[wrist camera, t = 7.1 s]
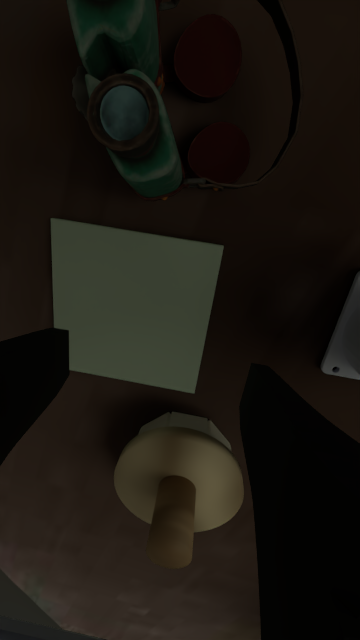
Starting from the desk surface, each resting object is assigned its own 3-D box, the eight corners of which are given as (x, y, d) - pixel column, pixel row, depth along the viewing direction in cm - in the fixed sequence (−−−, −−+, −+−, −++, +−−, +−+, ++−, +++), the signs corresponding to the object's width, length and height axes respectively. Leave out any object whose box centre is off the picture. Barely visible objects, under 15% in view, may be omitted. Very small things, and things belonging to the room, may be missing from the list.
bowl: (237, 424, 24) (240, 451, 21) (218, 490, 27) (219, 521, 24) (142, 405, 24) (133, 430, 22) (135, 472, 28) (126, 501, 25)
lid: (232, 421, 20) (240, 494, 15) (249, 516, 24) (259, 603, 18) (103, 431, 22) (68, 500, 17) (136, 519, 26) (115, 598, 20)
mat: (223, 245, 19) (223, 246, 18) (194, 389, 23) (194, 393, 23) (55, 218, 19) (50, 218, 19) (58, 363, 24) (55, 367, 23)
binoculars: (394, 141, 8) (63, 208, 9) (276, 184, 18) (127, 214, 18) (437, -438, 5) (-79, -259, 6) (266, 4, 15) (89, 47, 15)
